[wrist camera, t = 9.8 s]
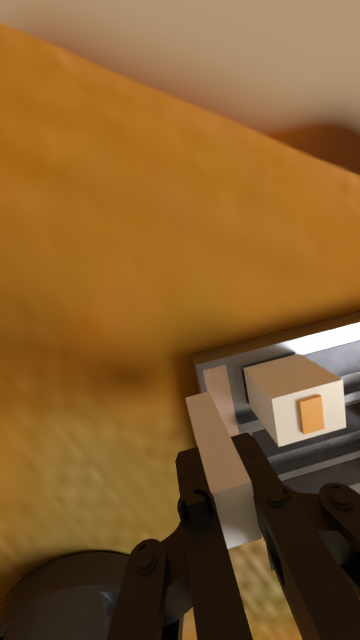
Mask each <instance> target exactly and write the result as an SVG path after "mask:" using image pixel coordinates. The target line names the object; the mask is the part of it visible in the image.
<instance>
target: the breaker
mask: <svg viewBox="0 0 360 640" xmlns="http://www.w3.org/2000/svg"><path fill="white" fill-rule="evenodd" d="M243 369H244V375H245V381H246V387H247V393H248V399H249V404H250V408H251V409H252V411H253V412H254V413H255V415H256V416H257V417H258V419H259V420H260V422H261V423H262V424H263V426H264V427H265V429H266V430H267V431H268V433H269V434H270V436H271V437H272V438H273V440H274V441H275V443H276V444H277V445H278V447H280V446H284V445H287V444H291V443H294V442H298V441H301V440H305V439H308V438H311V437H315V436H318V435H322V434H325V433H329V432H332V431H335V430H339V429H342V428H346V417H345V403H344V388H343V379H341V378H340V377H338V376H336V375H335V374H333V373H331V372H330V371H328V370H326V369H324V368H323V367H321V366H319V365H318V364H316V363H314V362H313V361H311V360H309V359H308V358H306V357H304V356H303V355H301V354H295V355H291V356H288V357H284V358H280V359H276V360H272V361H269V362H265V363H261V364H257V365H253V366H250V367H246V368H243Z"/></svg>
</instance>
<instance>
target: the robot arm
mask: <svg viewBox="0 0 360 640" xmlns="http://www.w3.org/2000/svg"><path fill="white" fill-rule="evenodd" d="M185 399H186V404H187V408H188V412H189V416H190V420H191V424H192V428H193V432H194V436H195V440H196V444H197V447H195V448H192V449H188V450H185V451H181V452H178V455H177V458H176V461H175V462H176V469H177V476H178V484H179V491H180V498H179V500H178V506H177V509H178V513H179V516H180V520H181V521H180V524H179V526H178V527H177V529H176V530H175V531H174V532H173V533H172V534H171V535H170V536H168V537H167V538H166V539H164V540H163V541H161V542H159V541H158V540H156V539H147V540H143V541H142V542H141V543H139V544H138V545H136V547H135V548H134V549H133V551H132V552H131V554H130V556H126V555H121V554H116V553H106V552H93V553H82V554H76V555H71V556H67V557H64V558H60V559H57V560H55V561H52V562H50V563H47V564H45V565H43V566H41V567H39V568H38V569H36V570H34V571H33V572H31V573H30V574H28V575H27V576H26V577H24V578H23V579H22V580H21V581H20V582H19V583H17V584H16V585H15V587H14V588H13V589H12V590H11V591H10V593H9V594H8V595H7V597H6V598H5V600H4V602H3V604H2V606H1V609H0V640H182V632H183V618H184V614H185V613H186V612H187V611H189V610H190V609H191V608H192V607H193V610H194V618H195V625H196V633H197V640H253V639H252V635H251V632H250V628H249V624H248V621H247V617H246V614H245V610H244V606H243V603H242V599H241V596H240V592H239V589H238V585H237V581H236V578H235V574H234V571H233V567H232V563H231V560H230V556H229V553H228V549H229V548H233V547H236V546H239V545H242V544H245V543H249V542H252V541H255V540H258V539H261V538H262V535H263V537H264V540H265V542H266V546H267V551H268V556H269V562H270V566H271V571H272V570H275V572H276V575H277V577H278V580H279V582H280V585H281V587H282V590H283V592H284V594H285V597H286V599H287V602H288V604H289V607H290V609H291V612H292V614H293V617H294V619H295V622H296V624H297V626H298V629H299V631H300V634H301V636H302V639H303V640H360V599H359V598H360V494H359V493H357V492H356V491H355V490H353V489H352V488H350V487H348V486H347V485H344V484H340V483H328V484H325V485H323V486H322V487H321V489H320V491H319V494H314V493H300V492H296V491H293V490H291V489H290V488H289V487H287V486H286V485H284V484H283V483H282V481H281V480H280V479H279V477H278V475H277V474H276V472H275V470H274V469H273V467H272V465H271V464H270V462H269V460H268V459H267V457H266V456H265V455H264V452H263V451H262V449H261V448H260V446H259V444H258V442H257V441H256V439H255V438H254V437H253V436H251V435H250V434H249V433H247V432H246V433H242V434H239V435H235V436H232V437H230V435H229V433H228V431H227V429H226V427H225V425H224V422H223V420H222V418H221V416H220V414H219V412H218V410H217V407H216V405H215V403H214V401H213V399H212V397H211V395H210V393H209V391H208V392H205V393H201V394H197V395H194V396H190V397H186V398H185ZM261 533H262V535H261Z"/></svg>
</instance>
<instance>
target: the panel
mask: <svg viewBox="0 0 360 640" xmlns="http://www.w3.org/2000/svg"><path fill="white" fill-rule="evenodd" d="M295 354H301V355H303V356H304V357H306V358H308V359H309V360H311V361H313V362H314V363H316V364H318V365H319V366H321V367H323V368H324V369H326V370H328V371H330V372H331V373H333V374H335V375H336V376H338V377H340V378H341V379H343V388H344V403H345V417H346V428H342V429H339V430H335V431H332V432H329V433H325V434H322V435H318V436H315V437H311V438H308V439H305V440H301V441H298V442H294V443H291V444H287V445H284V446H280V447H278V445H277V444H276V443H275V441H274V440H273V438H272V437H271V436H270V434H269V433H268V431H267V430H266V429H265V427H264V426H263V424H262V423H261V422H260V420H259V419H258V417H257V416H256V415H255V413H254V412H253V411H252V409H251V408H250V404H249V399H248V393H247V387H246V381H245V375H244V369H243V368H246V367H250V366H253V365H257V364H261V363H265V362H269V361H272V360H276V359H280V358H284V357H288V356H291V355H295ZM190 356H191V360H192V364H193V369H194V373H195V378H196V382H197V387H198V391H199V394H201V393H205V392H208V391H209V393H210V395H211V397H212V399H213V401H214V403H215V405H216V407H217V410H218V412H219V414H220V416H221V418H222V420H223V422H224V425H225V427H226V429H227V431H228V433H229V435H230V437H232V436H235V435H239V434H242V433H246V432H247V433H249V434H250V435H251V436H253V437H254V438H255V439H256V441H257V442H258V444H259V446H260V448H261V449H262V451H263V452H264V455H265V456H266V457H267V459H268V460H269V462H270V464H271V465H272V467H273V469H274V470H275V472H276V474H277V475H278V477H279V479H280V480H281V481H282V483H283V484H284V485H286V486H287V487H289V488H290V489H291V490H293V491H296V492H300V493H314V494H319V491H320V489H321V487H322V486H323V485H325V484H328V483H340V484H344V485H347V486H348V487H350V488H352V489H353V490H355V491H356V492H357V493H359V494H360V311H359V312H355V313H351V314H347V315H343V316H339V317H335V318H331V319H327V320H323V321H319V322H316V323H312V324H308V325H304V326H300V327H296V328H292V329H288V330H284V331H280V332H276V333H273V334H269V335H265V336H261V337H257V338H253V339H249V340H245V341H241V342H237V343H233V344H230V345H226V346H222V347H218V348H214V349H210V350H206V351H202V352H198V353H194V354H190Z"/></svg>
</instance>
